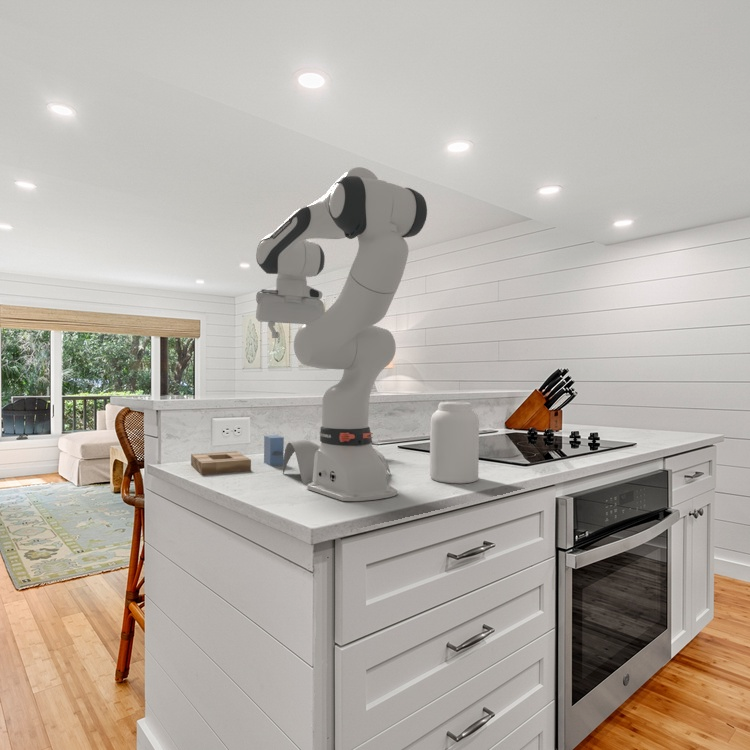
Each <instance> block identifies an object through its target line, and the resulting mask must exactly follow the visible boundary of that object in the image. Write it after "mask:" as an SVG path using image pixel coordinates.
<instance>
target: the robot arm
mask: <svg viewBox="0 0 750 750" xmlns="http://www.w3.org/2000/svg"><path fill="white" fill-rule="evenodd" d="M427 217H428V207H427V202H426V199H425V197H424V196H423V195H422V194H421V193H420V192H418V191H416V190H415V189H413V188H411V187H403V186H400V185H399V184H398V185H397V184H395V183H390V182H387V181H386V180H381V179H379V178H378V176H377V175H376V174H375V173H374V172H373V171H371V170H370V169H369V168H367V167H366V168H365V167H361V166H360V167H359V166H358V167H352V168H351V169H349V170H347V171H346V172H345V173H343V175H341V176H340V177H339V178H338V179H337V180H336V181H335V182H333V185H332V186H331V187H330V188H329V189H328V190H327V191H326V193H325V194H324V195H322V196H321V197H320V198H319V199H317V200H315V201H313V202H312V203H310V204H308V205H304V206H303V207H301V208H298V209H297V210H295V211H294V212H292V214H291V215H290V216H288V218H287V219H286V220H285V221H283V223H281V225H279V226H278V227H277V228H276V229H275V230H274V231H273V232H272V233H269V234H268V235H266V236H265V237H263V238H262V239H261V240H260V241H259V243H258V246H257V247H256V255H255V256H256V262H257V265H259V267H260V268H261V270H262V271H263V272H265V273H266V274H268V275H277V276H276V280H275V289H266V288H262V289H261V290H259V291H257V293H256V295H255V296H256V297H255V299H256V303H257V306H256V312H255V318H256V320H257V321H258V322H263V323H267V324H268V325H267V326H268V328H269V330H270V332H271V338H272V339H279V335H280V334H279V333H280V332H278V331H276V328H275V327H274V326H276V323H277V324H278V323H280V324H282V323H283V324H295V325H298V324H299V325H302V326H300V327H299V329H298V330H297V332H296V333H295V336H294V339H293V350H294V355H295V357H296V358H297V360H298V361H299V362H300V363H301V365H303V366H306V367H307V366H308V367H311V368H315V369H320V370H343V374H342V377H341V378H340V380H339V382H337V383H336V384H334V385H333V386H330V388H328V389H327V390H326V392H325V393H324V395H323V397H322V405H321V406H322V413H321V415H322V416H321V418H322V419H321V421H322V422H321V427H320V429H319V441H320V442H321V444H320V445H319V446H320V448H319V449H318V450H317V451H316V453H315V457H314V470H313V480H312V481H311V482H310V483H309V482H308V483H307V487H306V489H307V490H310V491H312V492H316V493H318V494H321V495H324V496H327V497H329V498H333V499H336V500H339V501H343V502H361V501H363V502H365V501H373V500H380V499H381V500H383V499H387V498H393V497H395V496H397V495H398V494H399V493H398V490H397V489H396V488H394V487H393V486H391V485H390V484H389V483H388V479H387V478H388V476H387V475H388V474H387V472H388V470H387V464H386V463H385V462H384V463H383V462H382V461H381V459H380V458H379V456H378V454H377V453H376V451H375V450H374V449H375V448H374V446H373V444H372V443H373V440H372V438H373V436H372V435H373V432H371V428H370V427H369V411H370V410H369V409H370V400H371V393H372V389H373V386H374V384H375V381H376V380H377V378H378V377H379V375H380V374H381V373H382V372H383V370H384V369H386V367H388V366H389V365H390V364H391V363H392V361H393V360H394V358H395V355H396V350H397V348H396V347H397V346H396V340H395V338H394V336H393V334H392V333H391V331H390V330H389V329H387V328H383V327H380V326H376V325H375V324H377V323H379V322H380V321H382V320H383V319H384V318H385V316H386V315H387V312H388V311H389V309H390V306H391V304H392V302H393V299H394V297H395V295H396V293H397V290H398V289H399V285H400V283H401V281H402V279H403V278H402V277H403V275H404V272H405V269H406V265H407V261H408V256H409V246H408V242H407V241H406V240H405V238H411V237H414V236H417V235H418V234H419V233H420V232H421V231H422V229H423V228H424V226H425V224H426V221H427ZM344 238H345V239H346V238H347V239H349V240H352V239H355V238H357V242H358V249H357V252H356V256H355V258H354V260H353V262H352V266H351V267H350V269H349V272H348V275H347V277H346V280H345V282H344V284H343V287H342V289H341V292H340V294H339V295H338V298H337V299H336V300H335V301H334V303H332V305H331V306H330V307H329V308H328V309H327V310H325V305H324V302H323V300H322V298H323V292H322V291H321V290H318V289H316V288H314V287H311V286H309V285H308V281H307V277H309V278H310V277H316V276H318V275H319V274H320V273H321V272H323V270H324V267H325V252H324V251H323V248H322V247H321V245H320V244H318V243H315V242H312V241H308V240H311V239H321V240H322V239H323V240H324V239H326V240H340V239H342V240H343V239H344Z"/></svg>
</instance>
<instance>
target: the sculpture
mask: <svg viewBox="0 0 750 750" xmlns="http://www.w3.org/2000/svg"><path fill="white" fill-rule="evenodd" d="M319 448H320V445H318V444H317V443H315V442H313V441H310V440H308V439H307V440H306V439H300V440H294V441H290V442H288V443H287V444H286V447H285V450H284V459H283V466H282V475H284V473H285V470H286V467H287V465H288V463H289V460H291V458H292V456H293V454H295V457H296V462H297V465H298V470H299V473H300V474H299V475H300V478H301V482H302V485H306V484H308V483H309V482H313V470H314V457H315V453H316V451H317V450H318V449H319ZM374 450H375V451H376V453H377V454H378V456H379V458H380V459H381V461H382V462H383V463H384V462H385V463H386V464H387V472H388V473H389V475H390V476H392V474H391V470H390V467H389V464H388V461H387V460H386V459H387V458H385V456H384V455H383V454H382V453H381V452H380V451H378V450H377V449H376V448H374Z"/></svg>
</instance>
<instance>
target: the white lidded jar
mask: <svg viewBox="0 0 750 750" xmlns="http://www.w3.org/2000/svg"><path fill="white" fill-rule="evenodd" d="M429 423H430V424H429V425H430V431H429V432H430V433H429V435H430V436H429V478H430V479H432V480H434V481H436V482H440V483H445V484H462V485H463V484H470V483H474V482H476V481H478V479H479V463H480V462H479V459H480V456H479V455H480V453H479V452H480V451H479V450H480V449H479V446H480V445H479V444H480V437H479V436H480V420H479V416H478V415H477V414H476V412H475V411H474V410H473V407H472V404H471V403H470V402H466V401H440V402H438V405H437V410H436V411H434V412H433V413H432V415H431V418H430V422H429Z"/></svg>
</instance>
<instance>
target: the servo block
mask: <svg viewBox="0 0 750 750" xmlns="http://www.w3.org/2000/svg"><path fill="white" fill-rule="evenodd" d="M263 438H264V439H263V463H264V464H266V465H268V466H270V467H271V466H272V467H273V466H282V465H283V460H284V453H285V450H284V447H285V444H284V443H285V440H284V439H285V438H284V436H281V435H279V434H273V435H272V434H271V435H269V434H268V435H264V437H263Z"/></svg>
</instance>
